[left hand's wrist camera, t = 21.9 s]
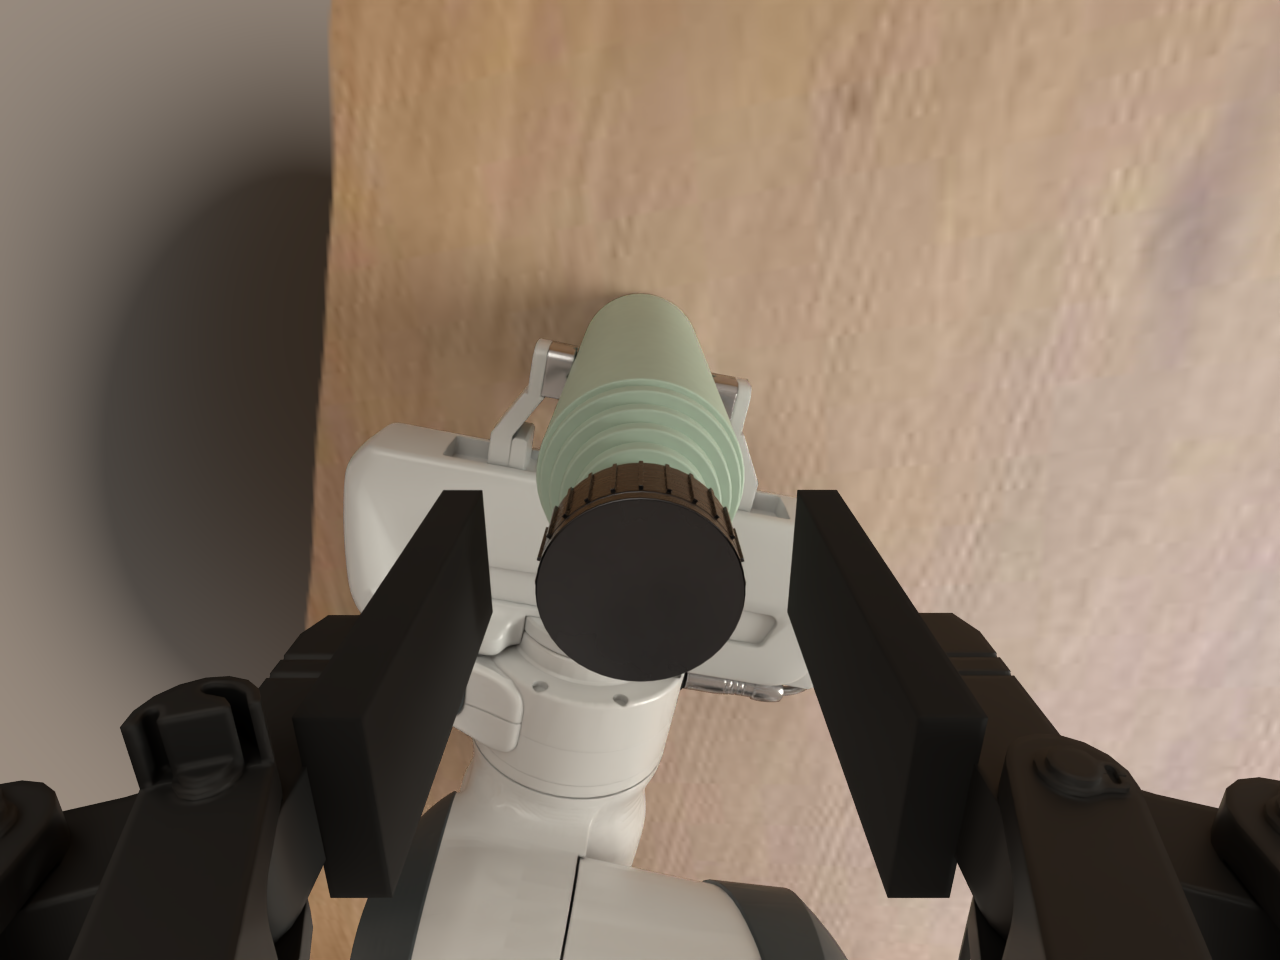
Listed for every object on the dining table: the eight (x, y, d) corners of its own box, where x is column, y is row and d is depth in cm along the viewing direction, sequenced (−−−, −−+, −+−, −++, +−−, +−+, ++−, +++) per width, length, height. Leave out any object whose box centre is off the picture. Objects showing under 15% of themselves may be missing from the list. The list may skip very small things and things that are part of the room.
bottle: (583, 407, 34) (508, 691, 14) (581, 292, 32) (491, 443, 13) (695, 408, 34) (769, 693, 14) (700, 293, 32) (791, 446, 13)
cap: (585, 429, 14) (578, 461, 12) (769, 502, 14) (786, 543, 13) (517, 593, 15) (502, 644, 13) (688, 655, 15) (694, 710, 14)
